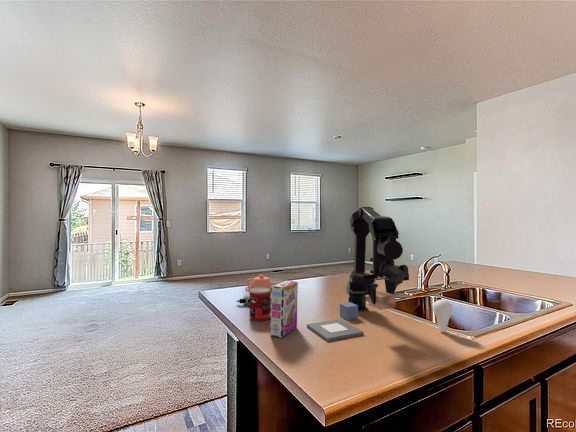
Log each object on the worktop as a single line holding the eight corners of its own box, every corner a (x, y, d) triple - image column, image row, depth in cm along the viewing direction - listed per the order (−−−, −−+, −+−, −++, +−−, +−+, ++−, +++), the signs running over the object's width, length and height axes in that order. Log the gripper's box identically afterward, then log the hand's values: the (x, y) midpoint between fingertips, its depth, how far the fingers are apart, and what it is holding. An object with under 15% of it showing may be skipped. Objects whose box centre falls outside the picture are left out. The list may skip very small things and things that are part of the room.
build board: (340, 321, 116) (340, 318, 116) (363, 334, 103) (363, 331, 103) (306, 327, 110) (306, 323, 110) (327, 341, 98) (327, 338, 98)
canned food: (249, 315, 124) (249, 287, 124) (270, 314, 124) (270, 287, 124) (249, 321, 116) (249, 292, 116) (270, 321, 117) (270, 291, 117)
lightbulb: (445, 336, 101) (445, 303, 101) (428, 330, 107) (428, 298, 107) (457, 333, 104) (457, 300, 104) (440, 327, 110) (440, 296, 110)
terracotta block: (383, 302, 106) (383, 291, 106) (395, 307, 101) (395, 295, 101) (368, 304, 104) (368, 292, 104) (380, 309, 98) (380, 297, 98)
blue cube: (350, 314, 124) (350, 302, 124) (358, 318, 120) (358, 305, 120) (339, 316, 122) (339, 303, 122) (347, 320, 118) (347, 307, 118)
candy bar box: (283, 339, 100) (283, 287, 100) (269, 336, 102) (269, 286, 102) (298, 327, 110) (298, 281, 110) (285, 325, 112) (285, 280, 112)
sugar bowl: (272, 298, 149) (272, 277, 149) (243, 298, 149) (243, 277, 149) (274, 292, 161) (274, 272, 161) (247, 292, 161) (247, 272, 161)
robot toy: (234, 308, 137) (259, 311, 128) (234, 297, 137) (259, 300, 128) (253, 301, 147) (278, 304, 138) (253, 292, 147) (277, 294, 138)
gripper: (375, 260, 91) (375, 313, 91) (422, 256, 99) (422, 306, 99) (352, 255, 102) (352, 303, 101) (396, 253, 109) (396, 297, 109)
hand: (381, 302), depth 102 cm, fingers closed on terracotta block, 6 cm apart
